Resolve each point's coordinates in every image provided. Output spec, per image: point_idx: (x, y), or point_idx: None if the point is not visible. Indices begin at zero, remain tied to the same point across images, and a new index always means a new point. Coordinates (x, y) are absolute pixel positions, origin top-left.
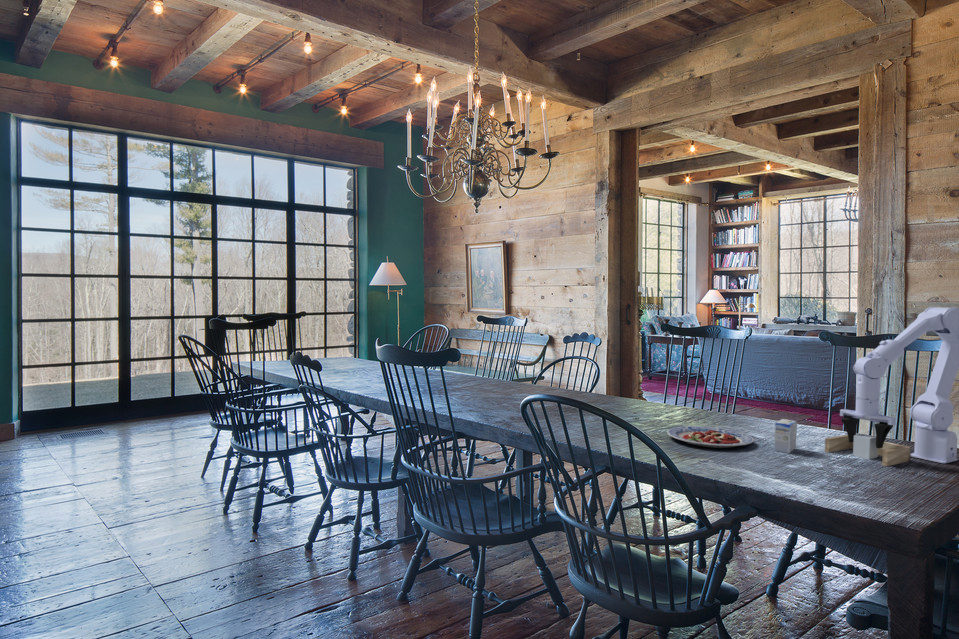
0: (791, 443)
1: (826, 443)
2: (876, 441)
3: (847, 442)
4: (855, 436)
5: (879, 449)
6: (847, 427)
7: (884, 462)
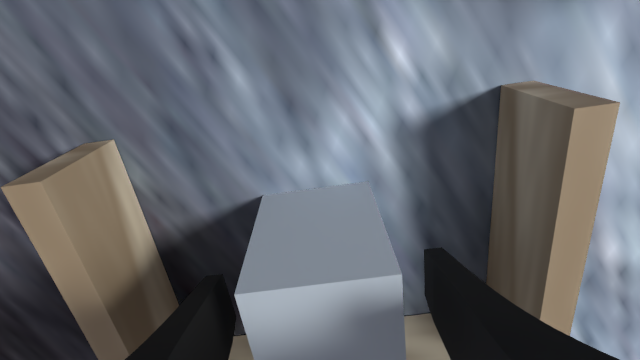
0: None
1: (568, 94)
2: (196, 307)
3: None
4: (381, 270)
5: None
6: (521, 333)
7: (86, 149)
